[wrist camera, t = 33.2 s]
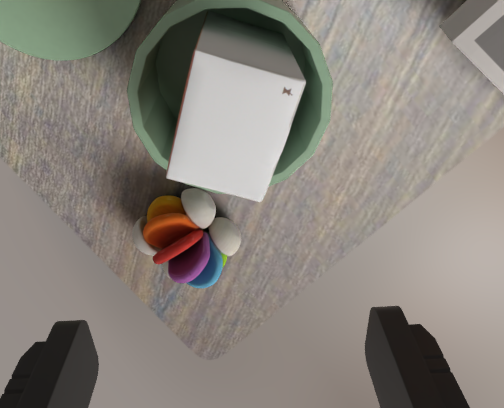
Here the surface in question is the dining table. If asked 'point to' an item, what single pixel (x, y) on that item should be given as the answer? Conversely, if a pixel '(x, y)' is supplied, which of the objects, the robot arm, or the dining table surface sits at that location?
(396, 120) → the dining table surface
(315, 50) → the tin
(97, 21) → the lid
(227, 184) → the small box
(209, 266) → the rainbow disc rolling toy
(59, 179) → the dining table surface
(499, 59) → the thermostat
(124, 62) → the dining table surface
